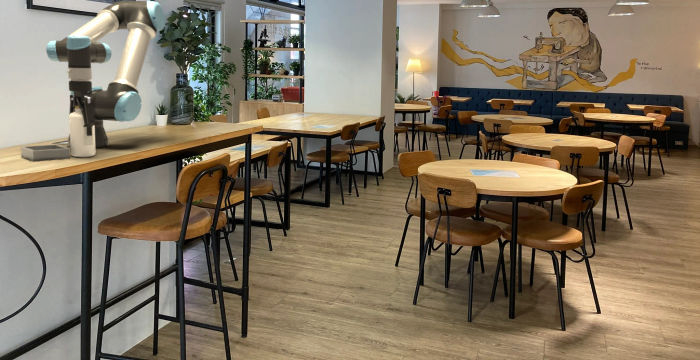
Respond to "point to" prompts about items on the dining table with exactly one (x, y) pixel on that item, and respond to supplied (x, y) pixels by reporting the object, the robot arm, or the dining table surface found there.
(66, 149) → the grey square tray
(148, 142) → the dining table surface
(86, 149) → the potion bottle
